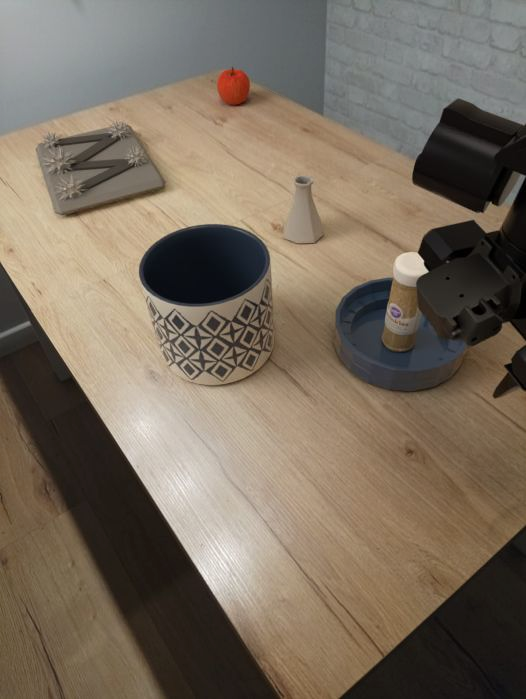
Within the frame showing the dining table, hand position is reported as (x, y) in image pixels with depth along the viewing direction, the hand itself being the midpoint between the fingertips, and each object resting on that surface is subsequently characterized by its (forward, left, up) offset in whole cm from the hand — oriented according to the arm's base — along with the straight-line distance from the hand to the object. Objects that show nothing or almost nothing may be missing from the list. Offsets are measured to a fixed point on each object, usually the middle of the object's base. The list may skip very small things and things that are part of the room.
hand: (469, 359), depth 51 cm
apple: (+99, -22, -13) cm, 102 cm away
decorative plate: (+85, +17, -13) cm, 87 cm away
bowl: (+14, -4, -13) cm, 20 cm away
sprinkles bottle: (+14, -4, -13) cm, 19 cm away
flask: (+43, -7, -13) cm, 46 cm away
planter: (+27, +17, -13) cm, 34 cm away
